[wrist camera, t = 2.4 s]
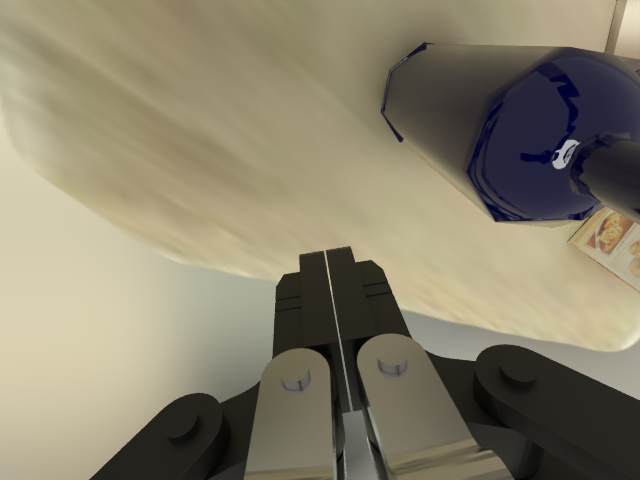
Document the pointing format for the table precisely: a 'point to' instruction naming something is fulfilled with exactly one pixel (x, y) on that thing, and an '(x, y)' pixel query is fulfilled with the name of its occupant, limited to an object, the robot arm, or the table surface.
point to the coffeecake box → (612, 244)
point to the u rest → (625, 30)
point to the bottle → (523, 127)
